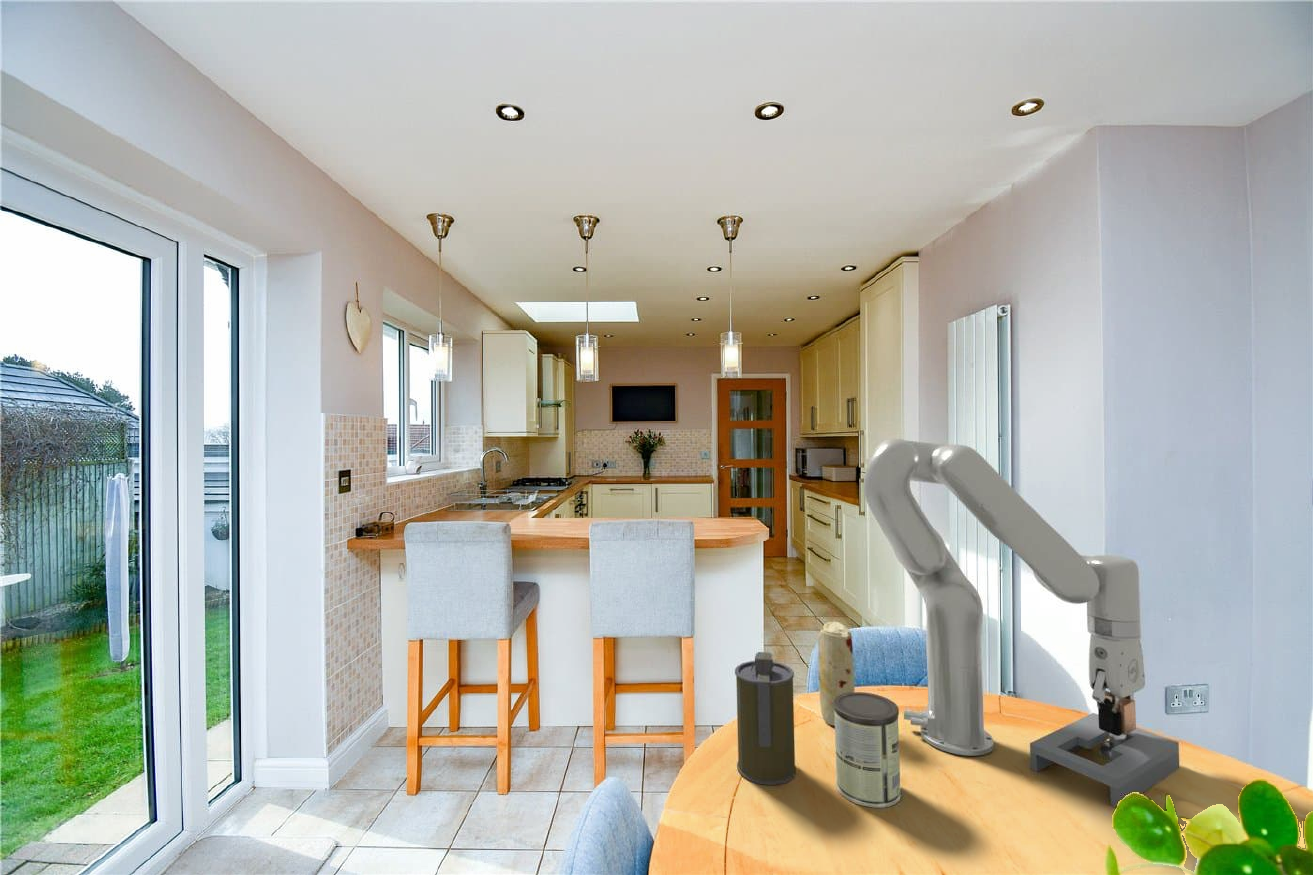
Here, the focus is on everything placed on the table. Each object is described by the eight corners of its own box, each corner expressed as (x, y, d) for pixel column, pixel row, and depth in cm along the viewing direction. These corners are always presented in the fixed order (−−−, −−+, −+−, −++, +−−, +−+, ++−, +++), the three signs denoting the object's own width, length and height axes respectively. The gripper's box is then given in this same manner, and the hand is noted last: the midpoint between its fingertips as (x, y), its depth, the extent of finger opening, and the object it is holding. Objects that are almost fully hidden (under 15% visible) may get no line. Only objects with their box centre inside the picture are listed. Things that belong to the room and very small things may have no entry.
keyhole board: (1118, 808, 90) (1117, 779, 90) (1030, 769, 101) (1029, 743, 102) (1179, 768, 101) (1178, 741, 101) (1093, 736, 112) (1093, 712, 112)
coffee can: (836, 768, 103) (834, 688, 103) (899, 777, 100) (896, 695, 100) (834, 802, 93) (832, 714, 94) (903, 814, 90) (901, 722, 90)
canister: (738, 751, 110) (736, 644, 110) (795, 755, 107) (792, 647, 108) (734, 784, 99) (732, 666, 99) (797, 790, 97) (794, 669, 97)
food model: (863, 731, 116) (860, 631, 116) (831, 733, 115) (828, 632, 116) (843, 709, 126) (841, 617, 126) (813, 711, 125) (811, 618, 125)
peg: (1128, 768, 100) (1126, 707, 100) (1095, 755, 104) (1093, 697, 105) (1141, 760, 102) (1139, 701, 103) (1108, 748, 107) (1107, 691, 107)
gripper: (1115, 640, 97) (1118, 751, 96) (1160, 624, 105) (1163, 726, 104) (1065, 628, 103) (1068, 732, 103) (1111, 613, 111) (1114, 709, 111)
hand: (1116, 727), depth 104 cm, fingers closed on peg, 3 cm apart
